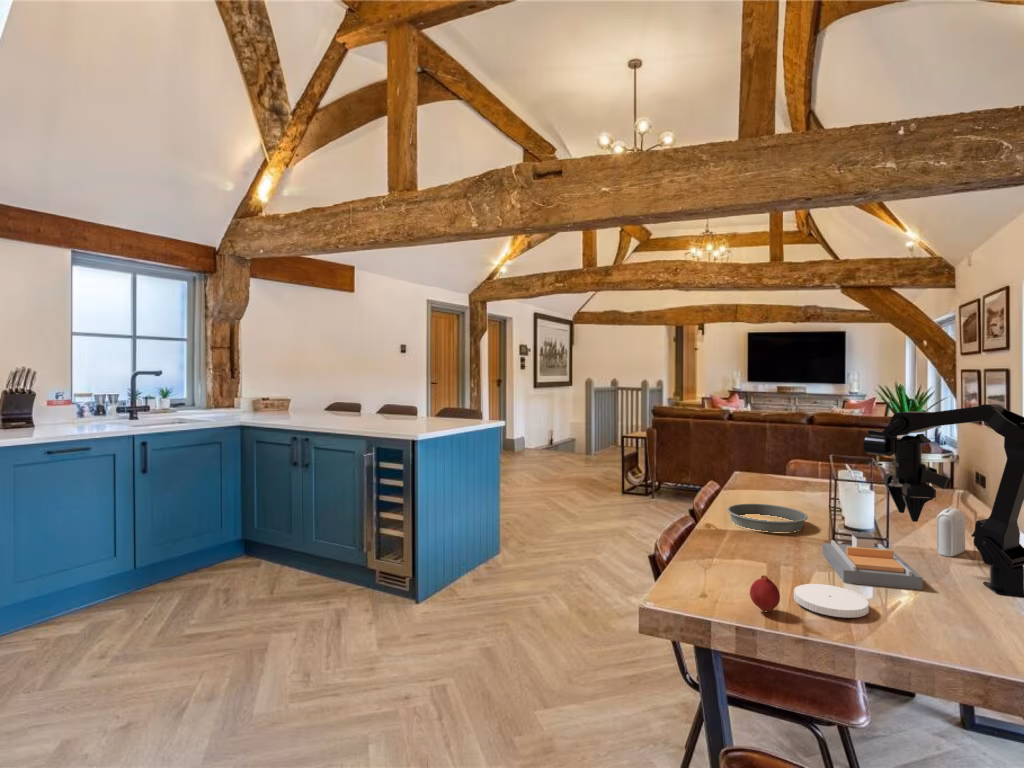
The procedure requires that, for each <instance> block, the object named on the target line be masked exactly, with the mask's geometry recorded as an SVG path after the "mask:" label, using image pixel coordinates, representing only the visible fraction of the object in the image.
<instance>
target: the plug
mask: <svg viewBox="0 0 1024 768" xmlns="http://www.w3.org/2000/svg"><path fill="white" fill-rule="evenodd" d="M851 545H852V547H861V548H874V547H875V536H874V535H872V534H871V533H870V532H856V531H855V532H854V531H852V532H851Z"/></svg>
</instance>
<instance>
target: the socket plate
mask: <svg viewBox="0 0 1024 768" xmlns="http://www.w3.org/2000/svg"><path fill="white" fill-rule="evenodd" d="M835 541H836V540H833V539H831V540H830V543H826V542H822V555H823V556H824V558H825V557H826V558H825V559H826V560H827V561H828V563H829V564H830V566H831V567H832V569H833V568H834V569H833V570H834V572H837V573H836V574H837V576H838V575H839V576H840V577H839V576H838V577H839V578H840V580H841V579H842V580H841V581H842V582H843V583H844V582H849V583H848V584H854V583H860V584H859V585H864V584H867V585H868V586H876V587H886V588H887V587H888V588H895V589H896V588H897V589H898V588H899V589H907V590H916V589H917V591H923V577H922V576H921V574H919V573H918V571H916V570H915V569H914V568H913V567H911V566H910V565H909V564H908V563H907V562H906V561H904V559H902V558H901V557H900V555H898V554H897V553H896V552H895V551H893V554H894V560H895V561H896V562H898V563H899V564H900V565H901V566H902V567H903V568H904V573H903V572H892V571H881V570H870V569H858V568H856V566H855V565H854V564H853V563H852V561H851V560H850V559H849V558H848V557H847V553H846V546H848V547H852V544H842V543H840V544H837V543H836V542H835ZM874 549H886V550H892V549H891V548H890V547H885V546H883V545H882V544H881V543H877V546H874ZM867 585H866V586H867Z"/></svg>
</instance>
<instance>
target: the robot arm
mask: <svg viewBox="0 0 1024 768" xmlns="http://www.w3.org/2000/svg"><path fill="white" fill-rule="evenodd" d="M978 422H979V423H980V422H984V423H985V424H987V425H988V426H989V427H990V428H991V429H992V430H993V431H994V432H995V433H996V434H999V436H1002V437H1003V439H1004V440H1003V442H1004V443H1003V447H1004V448H1003V449H1004V452H1005V455H1006V462H1005V465H1004V468H1003V471H1002V475H1001V478H1000V482H999V486H998V488H997V492H996V495H995V498H994V501H993V505H992V509H991V513H990V515H989V517H988V518H985V519H978V520H976V522H975V525H974V526H975V527H974V531H973V533H972V534H971V538H973V545H974V546H975V548H976V549H977V551H978V552H979V553H980V556H981V558H982V559H981V560H983V563H984V564H985V565H989V567H990V568H989V571H990V572H989V581H982V584H983V585H984V586H985V587H987V588H988V589H989V590H991V591H993V592H994V593H995V594H998V595H1003V596H1004V595H1006V596H1014V597H1015V596H1016V597H1024V546H1022V544H1021V543H1020V541H1021V531H1020V527H1019V525H1018V519H1019V516H1020V512H1021V509H1022V507H1023V503H1024V416H1022V415H1020V414H1018V413H1015V412H1014V411H1011V410H1009V409H1008V408H1005V407H1004V406H1001V404H997V403H985V404H984V403H983V404H981V405H978V406H971V407H963V408H955V409H948V410H940V411H938V410H937V411H914V410H913V411H900V412H899V411H898V412H895V413H893V415H891V418H890V421H889V423H888V425H887V426H886V427H885V428H884V429H883V430H882V431H881V430H876V429H869V430H868V434H867V435H866V436H865V437H864V440H863V442H862V446H863V450H864V452H865V453H866V454H868V455H876V456H877V455H878V456H884V457H892V456H893V455H894V460H891V463H892V465H893V466H894V473H891V472H890V473H889V472H887V473H885V474H884V475H883V476H882V477H883V478H882V479H883V482H882V483H883V484H885V487H886V489H887V488H888V489H887V491H888V490H889V491H888V493H889V495H890V497H891V498H892V501H893V503H894V506H895V507H896V509H897V511H898V512H899V514H904V513H905V511H906V509H907V512H908V514H909V517H910V519H911V521H912V522H913V523H917V522H919V518H920V516H921V513H922V510H923V508H924V506H925V504H926V503H927V502H929V501H932V500H934V499H936V498H937V489H936V488H934V487H933V486H931V485H934V486H937V487H939V488H941V489H943V490H944V489H945V488H946V486H947V484H948V483H949V480H950V477H948V476H945V475H943V474H940V473H938V469H936V468H934V467H931V466H926V465H925V464H924V463H922V444H930V443H931V442H932V440H931V439H929V438H928V437H927V436H925V434H924V433H922V432H925V431H928V430H931V429H934V428H938V427H940V426H942V427H943V426H951V425H959V424H970V423H978ZM910 434H916V435H910ZM899 436H900V437H899ZM901 436H902V437H901Z"/></svg>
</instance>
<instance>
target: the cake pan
mask: <svg viewBox="0 0 1024 768" xmlns="http://www.w3.org/2000/svg"><path fill="white" fill-rule="evenodd" d="M726 510H727V513H729V514H730V517H731V518H730V519H731V522H732V521H733V522H734V523H735V524H737V525H739V526H742V527H745V528H750V529H755V530H761V531H768V532H794V531H798V530H800V529H801V530H802V529H803V526H804V523H805V521H807V520H808V518H809V516H808V514H807V513H806V512H804V511H801V510H799V509H795V508H792V507H787V506H782V505H777V504H767V503H766V504H765V503H738V504H733V505H730V506H728V507H727V509H726ZM745 514H760V515H770V516H777V517H782V518H786V519H789V520H793V521H787V520H782V521H781V520H775V521H767V520H758V519H752V518H747V517H743V516H740V515H745ZM801 530H800V531H801ZM798 532H799V531H798ZM794 533H795V532H794Z"/></svg>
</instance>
